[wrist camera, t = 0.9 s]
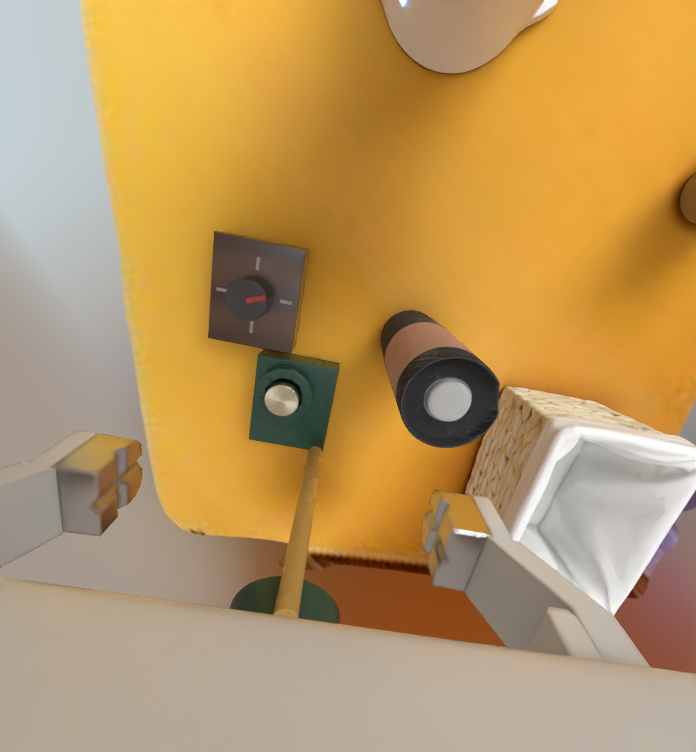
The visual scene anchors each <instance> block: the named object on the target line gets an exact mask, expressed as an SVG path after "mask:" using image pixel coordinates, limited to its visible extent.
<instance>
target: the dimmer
mask: <svg viewBox="0 0 696 752" xmlns="http://www.w3.org/2000/svg"><path fill="white" fill-rule="evenodd" d="M308 255H309V250H308V249H303V248H298V247H293V246H288V245H284V244H279V243H274V242H269V241H264V240H259V239H254V238H250V237H245V236H240V235H235V234H230V233H225V232H218V231H214V244H213V262H212V280H211V297H210V315H209V333H208V338H211V339H216V340H221V341H227V342H232V343H237V344H243V345H248V346H253V347H258V348H264V349H269V350H274V351H280V352H285V353H290V354H291V353H292V351H293V349H294V348H295V344H296V337H297V330H298V323H299V316H300V310H301V303H302V296H303V289H304V282H305V276H306V269H307V262H308ZM249 276H257V277H260V278H262V279H264V280H265V281H267V282H268V283H269V285H270V286H271V288H272V290H273V293H274V302H273V305H272V307H271V309H270V310H269V311H268V312H266V313H265V314H264V315H262V316H261V317H260V318H258V319H257V320H254V321H242V320H240V319H238V318H236V317H235V316H233V315H232V314H231V313H230V311H229V310H228V308H227V306H226V302H225V293H226V290H227V288H228V286H229V285H230V284H231V283H232V282H234V281H235V280H238V279H242V278H245V277H249Z"/></svg>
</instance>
